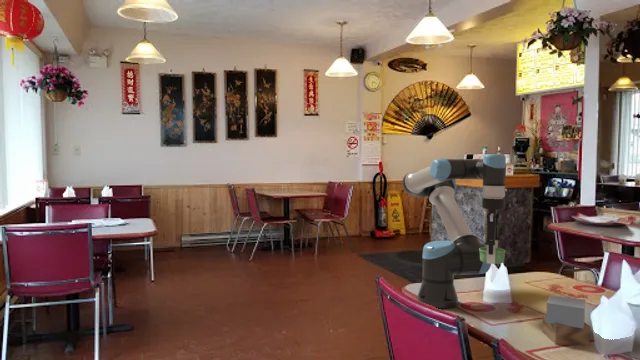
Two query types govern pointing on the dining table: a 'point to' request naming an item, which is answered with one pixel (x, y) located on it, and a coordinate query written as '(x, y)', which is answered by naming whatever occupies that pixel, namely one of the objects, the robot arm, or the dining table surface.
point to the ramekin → (498, 255)
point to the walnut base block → (566, 333)
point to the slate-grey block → (566, 311)
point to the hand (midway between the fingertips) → (492, 260)
